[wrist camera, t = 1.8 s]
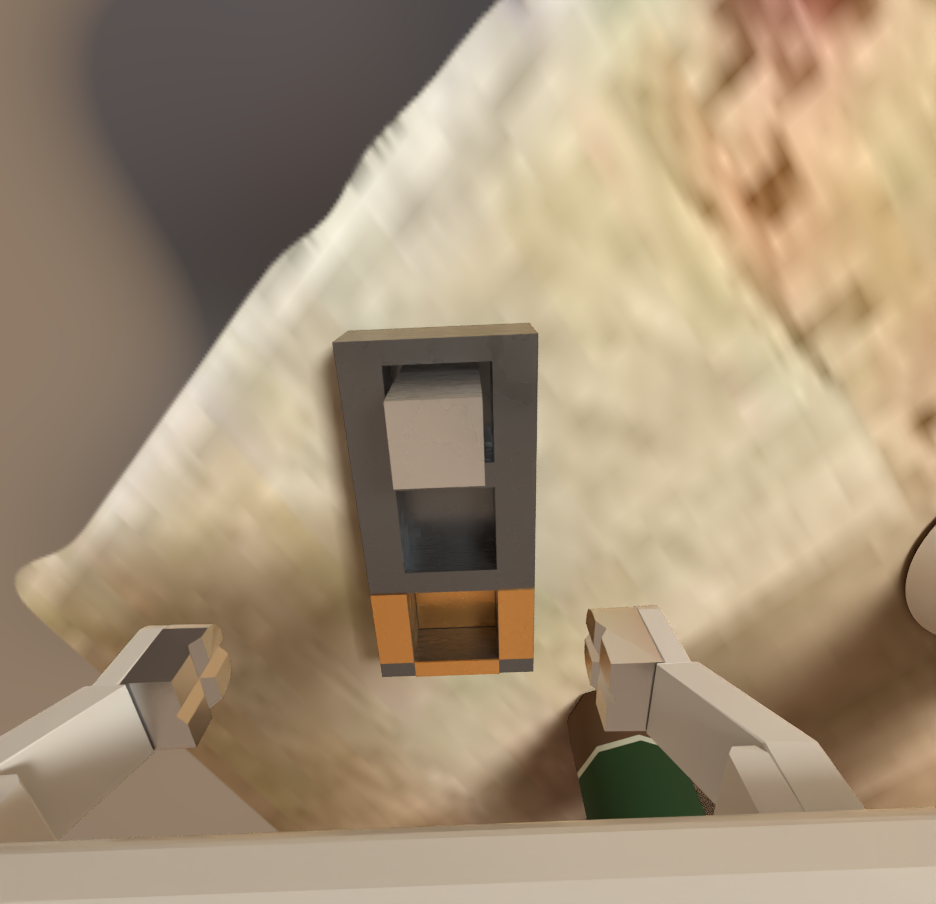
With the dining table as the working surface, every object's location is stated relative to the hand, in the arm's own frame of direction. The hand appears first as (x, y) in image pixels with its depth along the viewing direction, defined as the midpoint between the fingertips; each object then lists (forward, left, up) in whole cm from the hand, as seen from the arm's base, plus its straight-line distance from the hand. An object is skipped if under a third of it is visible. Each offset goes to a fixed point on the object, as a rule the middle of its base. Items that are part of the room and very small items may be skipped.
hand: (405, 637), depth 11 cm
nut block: (0, 0, -19) cm, 19 cm away
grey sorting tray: (0, +7, -19) cm, 20 cm away
